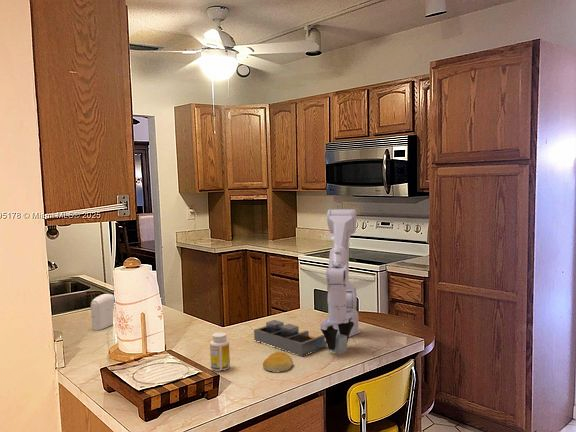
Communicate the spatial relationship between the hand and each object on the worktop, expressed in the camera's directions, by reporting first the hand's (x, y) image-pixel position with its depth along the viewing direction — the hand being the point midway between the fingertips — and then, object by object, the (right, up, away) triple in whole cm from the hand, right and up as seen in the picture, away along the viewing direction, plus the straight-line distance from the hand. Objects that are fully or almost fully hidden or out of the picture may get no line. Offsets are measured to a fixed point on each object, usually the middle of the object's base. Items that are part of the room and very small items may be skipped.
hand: (337, 346), depth 159 cm
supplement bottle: (-36, -3, -12) cm, 38 cm away
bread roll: (-19, -3, -12) cm, 23 cm away
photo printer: (-86, -1, +31) cm, 91 cm away
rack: (-15, -1, +7) cm, 17 cm away
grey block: (0, -2, 0) cm, 2 cm away
